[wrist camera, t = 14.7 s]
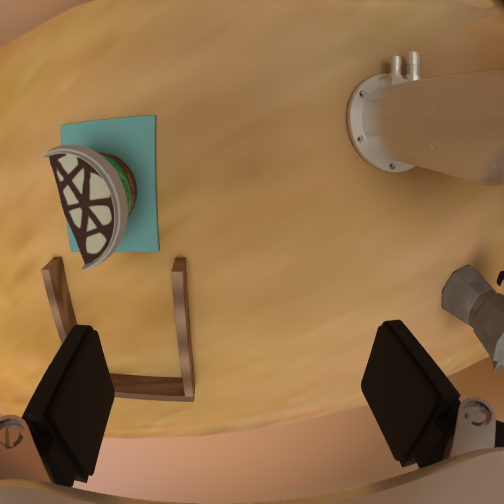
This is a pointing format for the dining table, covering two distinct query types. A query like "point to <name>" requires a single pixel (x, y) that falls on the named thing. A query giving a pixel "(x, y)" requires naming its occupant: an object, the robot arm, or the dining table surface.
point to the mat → (140, 163)
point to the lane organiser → (132, 384)
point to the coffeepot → (478, 309)
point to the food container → (93, 198)
